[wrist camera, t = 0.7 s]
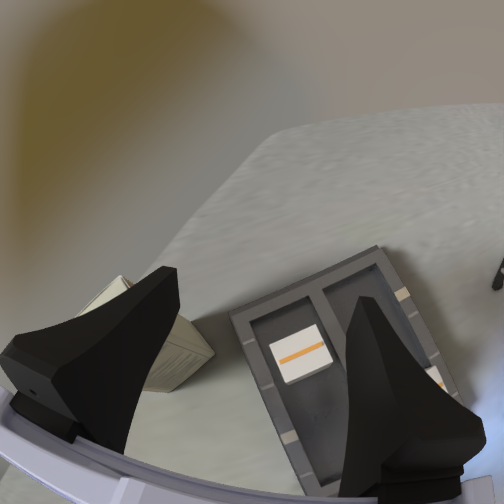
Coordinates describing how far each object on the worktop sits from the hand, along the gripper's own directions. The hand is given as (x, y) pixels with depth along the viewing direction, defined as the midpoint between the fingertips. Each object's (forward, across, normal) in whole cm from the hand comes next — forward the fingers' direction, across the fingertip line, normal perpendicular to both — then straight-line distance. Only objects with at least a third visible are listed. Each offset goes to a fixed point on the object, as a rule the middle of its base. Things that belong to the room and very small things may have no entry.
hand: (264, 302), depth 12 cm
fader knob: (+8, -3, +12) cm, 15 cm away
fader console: (+7, -8, +13) cm, 17 cm away
